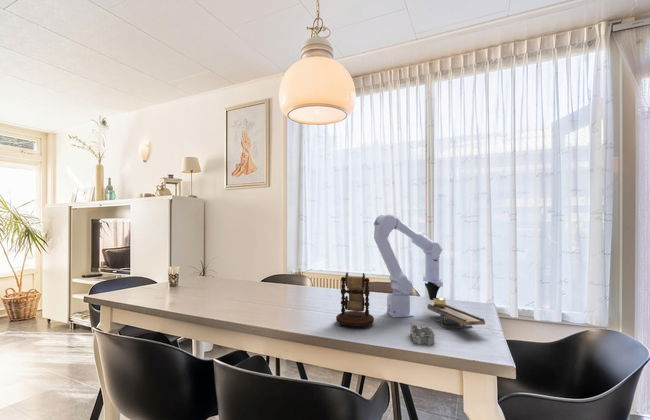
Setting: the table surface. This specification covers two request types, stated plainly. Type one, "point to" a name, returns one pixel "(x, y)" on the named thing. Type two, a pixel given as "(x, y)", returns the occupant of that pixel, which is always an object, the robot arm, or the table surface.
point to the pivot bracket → (450, 323)
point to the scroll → (355, 302)
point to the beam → (458, 315)
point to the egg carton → (422, 334)
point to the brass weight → (439, 302)
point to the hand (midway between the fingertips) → (432, 299)
